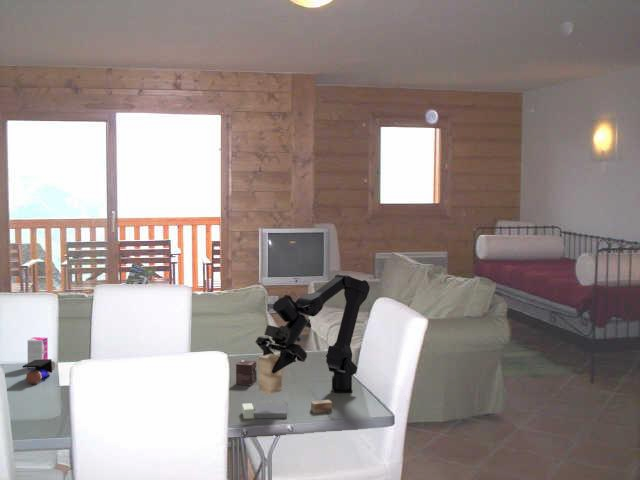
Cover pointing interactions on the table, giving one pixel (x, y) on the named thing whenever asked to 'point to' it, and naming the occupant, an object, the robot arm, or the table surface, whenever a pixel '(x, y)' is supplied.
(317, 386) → the table surface
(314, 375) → the table surface
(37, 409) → the table surface
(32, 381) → the figurine character
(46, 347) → the supplement box
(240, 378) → the box
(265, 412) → the slate tile
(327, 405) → the walnut brick
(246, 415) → the sage brick
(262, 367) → the oak block
